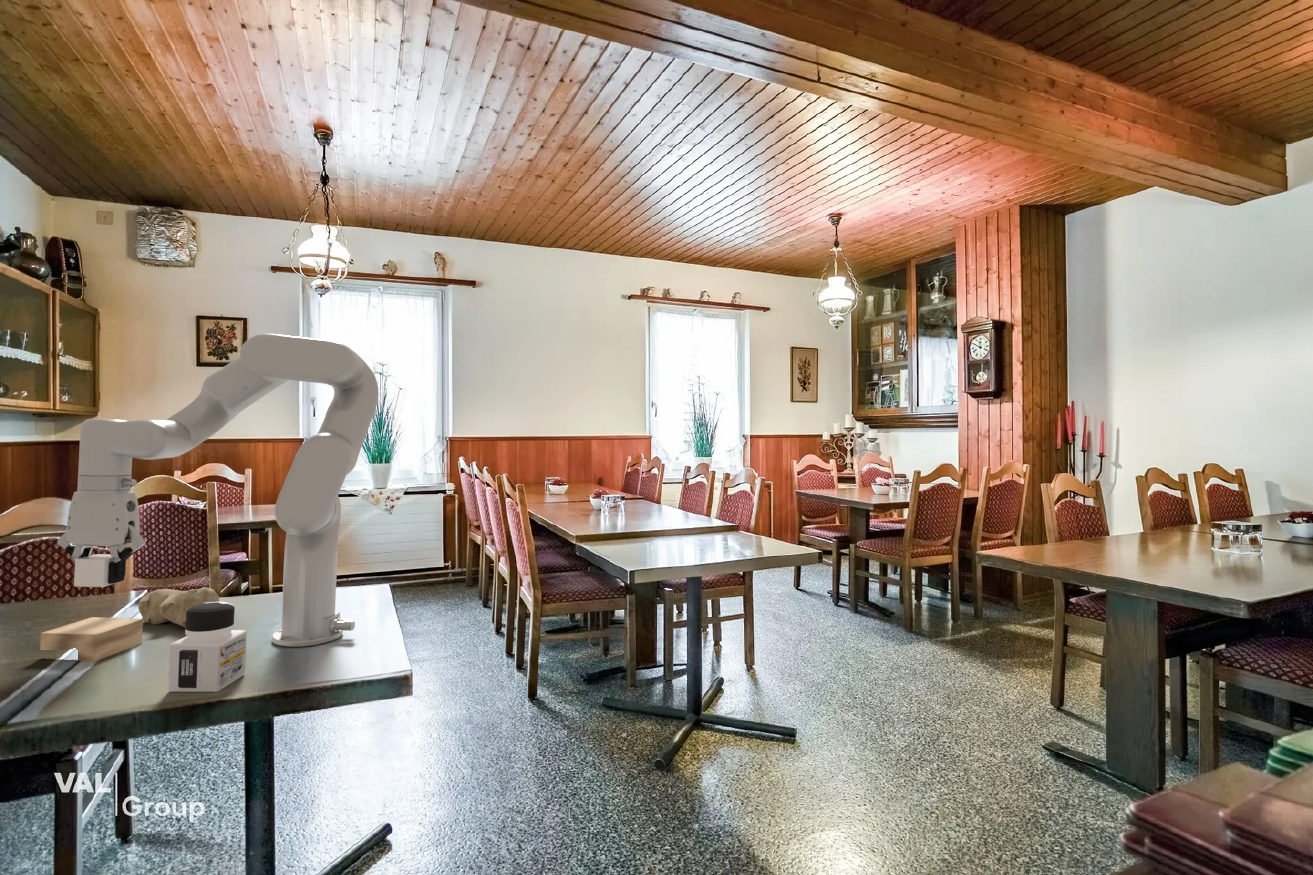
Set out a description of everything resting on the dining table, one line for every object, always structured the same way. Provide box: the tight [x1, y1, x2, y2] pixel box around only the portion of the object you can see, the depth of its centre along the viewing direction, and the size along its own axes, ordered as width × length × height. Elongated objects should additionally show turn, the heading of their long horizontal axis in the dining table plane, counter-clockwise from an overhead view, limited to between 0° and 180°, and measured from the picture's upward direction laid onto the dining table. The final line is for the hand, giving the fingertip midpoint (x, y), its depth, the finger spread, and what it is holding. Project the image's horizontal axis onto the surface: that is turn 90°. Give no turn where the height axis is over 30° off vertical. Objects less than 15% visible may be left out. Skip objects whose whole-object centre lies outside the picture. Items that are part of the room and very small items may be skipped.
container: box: [167, 601, 248, 693], centre depth 104 cm, size 8×8×13 cm
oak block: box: [39, 616, 144, 662], centre depth 117 cm, size 10×10×5 cm
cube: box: [73, 553, 125, 588], centre depth 117 cm, size 5×5×5 cm
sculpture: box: [137, 586, 220, 629], centre depth 134 cm, size 9×17×10 cm
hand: (99, 580), depth 117 cm, fingers closed on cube, 5 cm apart
